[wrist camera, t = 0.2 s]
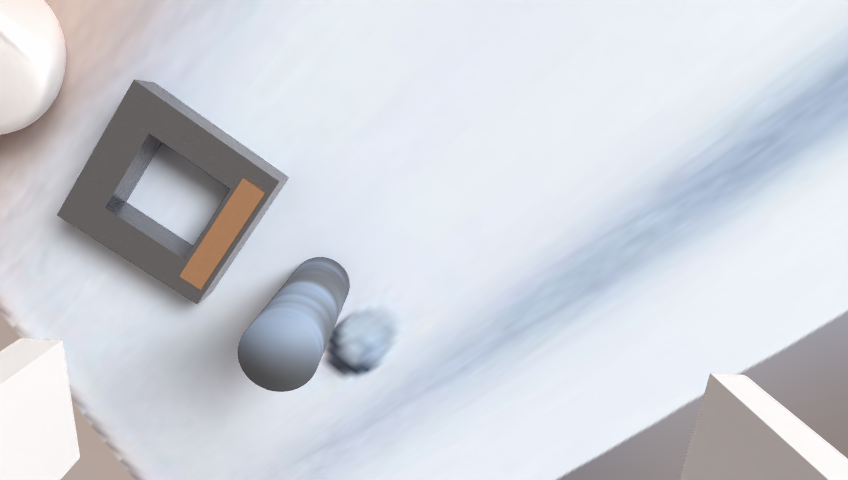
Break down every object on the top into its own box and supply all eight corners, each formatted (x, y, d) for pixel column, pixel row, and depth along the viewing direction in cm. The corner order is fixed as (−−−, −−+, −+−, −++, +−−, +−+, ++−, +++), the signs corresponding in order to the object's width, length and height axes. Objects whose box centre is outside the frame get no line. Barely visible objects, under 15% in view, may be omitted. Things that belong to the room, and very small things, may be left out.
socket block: (81, 208, 37) (54, 215, 34) (154, 82, 34) (132, 79, 32) (211, 292, 38) (196, 305, 36) (288, 177, 36) (278, 182, 33)
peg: (294, 254, 38) (237, 314, 26) (351, 259, 38) (320, 321, 26) (292, 307, 39) (237, 388, 27) (348, 312, 39) (317, 394, 27)
